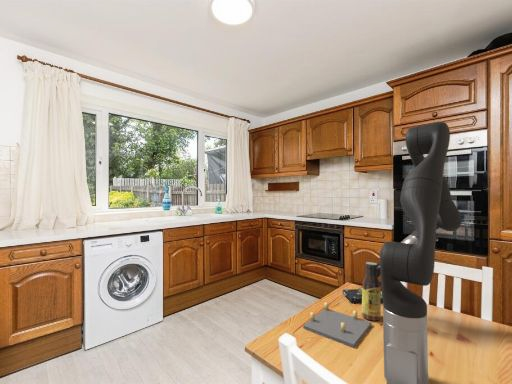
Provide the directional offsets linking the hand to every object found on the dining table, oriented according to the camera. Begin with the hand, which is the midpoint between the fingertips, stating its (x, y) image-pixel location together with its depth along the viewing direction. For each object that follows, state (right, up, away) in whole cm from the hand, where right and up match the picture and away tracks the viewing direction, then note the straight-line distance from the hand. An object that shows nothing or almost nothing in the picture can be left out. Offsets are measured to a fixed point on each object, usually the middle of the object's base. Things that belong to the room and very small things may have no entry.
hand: (376, 281), depth 92 cm
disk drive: (+2, -14, +17) cm, 23 cm away
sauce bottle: (-2, -14, 0) cm, 14 cm away
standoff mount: (-16, -13, -6) cm, 22 cm away
